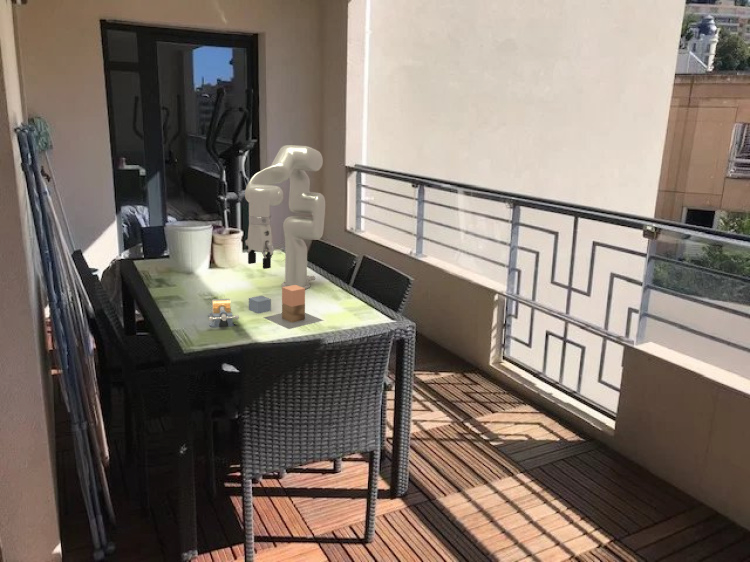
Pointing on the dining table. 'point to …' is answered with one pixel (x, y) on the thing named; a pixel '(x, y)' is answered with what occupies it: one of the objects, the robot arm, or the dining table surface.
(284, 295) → the salmon orange cube
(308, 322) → the plate
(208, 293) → the dining table surface
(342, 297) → the dining table surface
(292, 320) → the brown wooden cube
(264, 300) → the slate brick
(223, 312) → the vise
